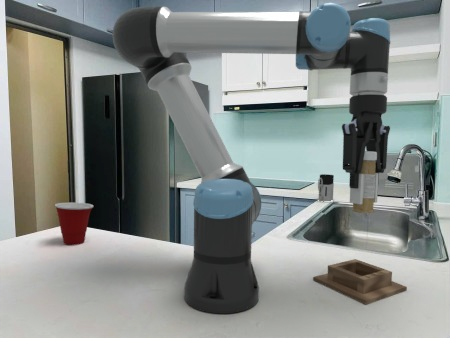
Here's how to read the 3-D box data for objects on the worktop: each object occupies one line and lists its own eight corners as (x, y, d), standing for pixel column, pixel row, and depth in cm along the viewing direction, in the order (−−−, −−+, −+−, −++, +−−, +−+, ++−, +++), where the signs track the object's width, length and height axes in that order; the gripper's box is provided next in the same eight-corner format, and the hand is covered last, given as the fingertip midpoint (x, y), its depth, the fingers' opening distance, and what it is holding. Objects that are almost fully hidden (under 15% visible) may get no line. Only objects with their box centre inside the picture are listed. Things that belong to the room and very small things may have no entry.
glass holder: (336, 201, 196) (337, 175, 194) (325, 204, 185) (326, 176, 184) (321, 199, 201) (322, 174, 200) (310, 202, 191) (311, 175, 190)
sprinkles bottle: (348, 209, 79) (350, 150, 78) (367, 209, 79) (370, 151, 78) (358, 214, 74) (360, 151, 73) (378, 213, 75) (381, 151, 74)
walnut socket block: (365, 304, 68) (366, 284, 68) (313, 280, 80) (313, 263, 80) (406, 290, 76) (407, 272, 75) (353, 269, 88) (353, 254, 87)
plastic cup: (97, 244, 105) (97, 205, 104) (58, 249, 99) (58, 208, 98) (89, 236, 114) (88, 199, 113) (52, 240, 108) (52, 202, 107)
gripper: (356, 89, 67) (351, 208, 69) (408, 97, 76) (402, 202, 78) (326, 94, 74) (322, 202, 75) (377, 100, 83) (373, 197, 84)
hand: (363, 202), depth 77 cm, fingers closed on sprinkles bottle, 4 cm apart
